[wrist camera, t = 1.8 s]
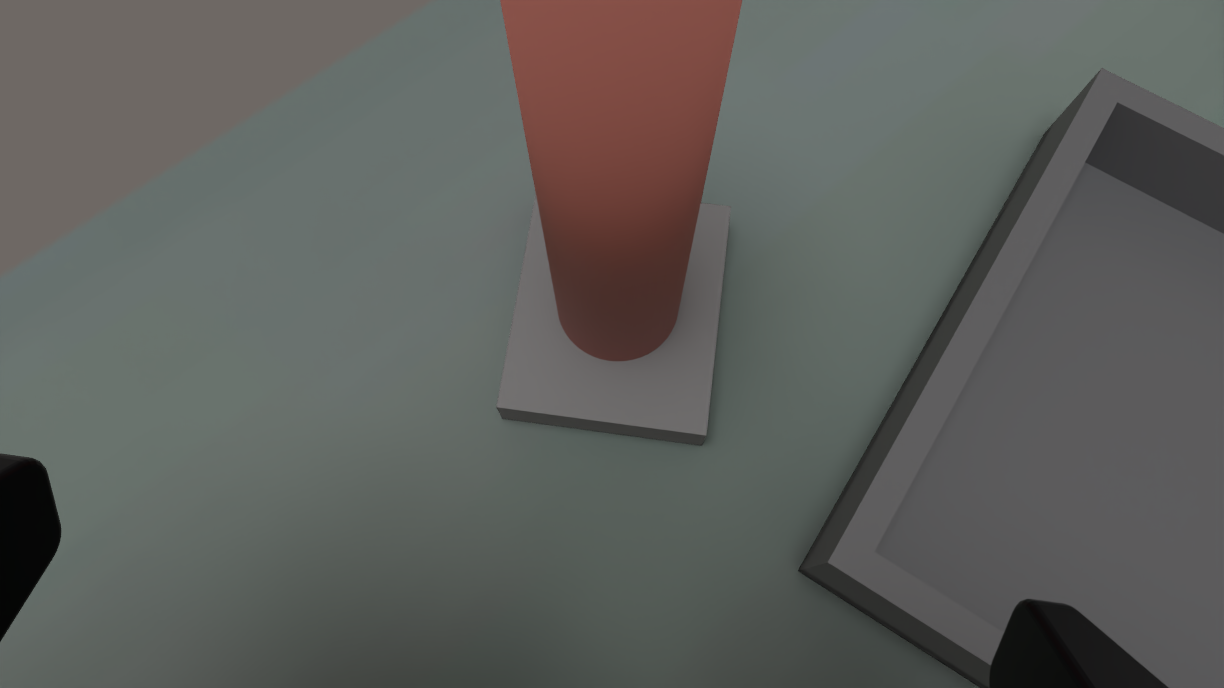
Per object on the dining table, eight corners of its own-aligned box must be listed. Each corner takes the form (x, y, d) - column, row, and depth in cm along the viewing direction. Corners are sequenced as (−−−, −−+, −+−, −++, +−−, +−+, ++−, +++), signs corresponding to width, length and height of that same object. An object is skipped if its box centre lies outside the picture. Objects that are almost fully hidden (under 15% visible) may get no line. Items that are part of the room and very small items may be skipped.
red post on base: (701, 445, 21) (849, 142, 8) (502, 418, 22) (316, 78, 8) (724, 227, 23) (877, -324, 10) (541, 203, 23) (441, -365, 10)
